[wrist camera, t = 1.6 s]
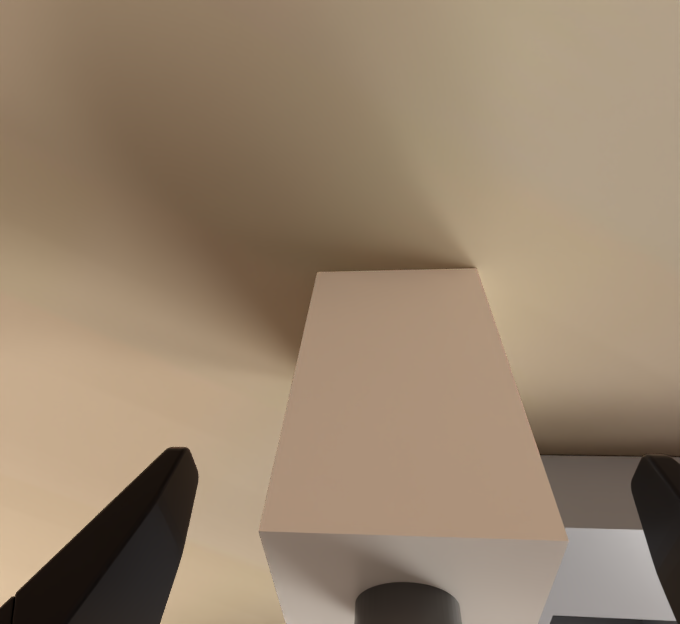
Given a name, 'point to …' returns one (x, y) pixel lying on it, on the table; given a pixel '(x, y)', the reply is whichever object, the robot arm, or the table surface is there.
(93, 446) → the table surface
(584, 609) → the socket plate
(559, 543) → the plug
